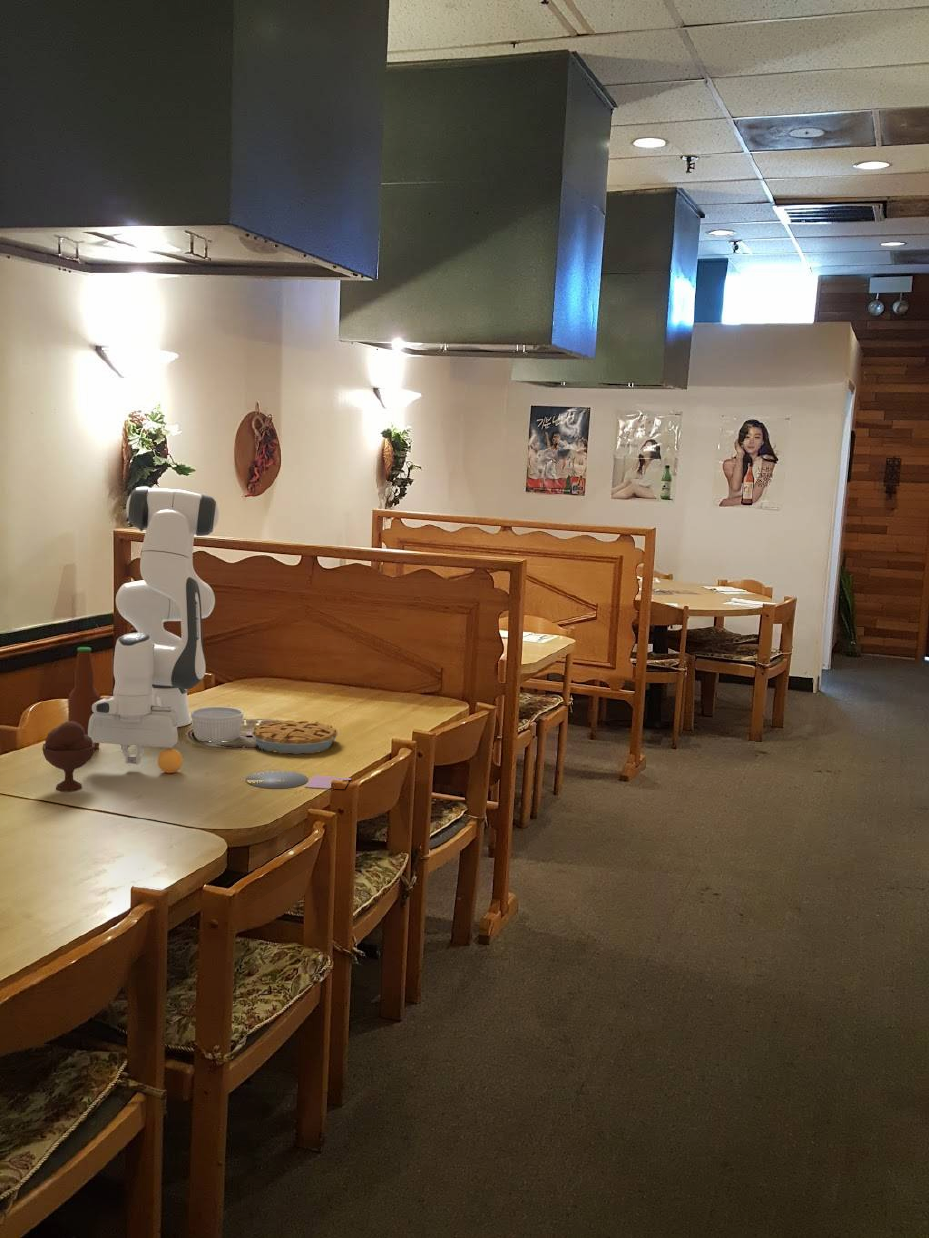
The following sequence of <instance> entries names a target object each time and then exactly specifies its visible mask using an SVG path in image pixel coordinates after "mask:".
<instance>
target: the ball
mask: <svg viewBox="0 0 929 1238" xmlns="http://www.w3.org/2000/svg"><path fill="white" fill-rule="evenodd" d="M183 761H184V760H183V756H182V753H181V752H180V751H179V750H177V749H176V748H175V749H174V748H167V749H164V750H162V751H161V752H160V753H159V755H158V757H157V765H158V768H159V769H160V770H161V771H162V772H164V773H167V774H172V773H176V772H178V771H179V770H180V769H181V767H182V765H183Z"/></svg>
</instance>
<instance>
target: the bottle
mask: <svg viewBox="0 0 929 1238" xmlns="http://www.w3.org/2000/svg"><path fill="white" fill-rule="evenodd" d="M76 651H77V655H76V657H77V660H76V661H77V662H76V666H75V672H74V687H73V689H71V691H70V693H69V696H68V700H67V701H68V704H67V705H68V706H67V708H68V709H67V713H68V715H67V716H68V718H67V719H68V721H74V722H77V723H79V724H80V725H81V726H82V727H83V728H84V734H86V735H88V726H89V719H90V717H91V715H92V714H93V713H94V712H93V711H92V705H93V704H94V703H96V702H97V701H99V700H101V697H100V694H99V691H98V690H97V689H96V688H95V686H94V678H95V677H94V669H93V665H92V664H93V663H92V660H91V658H92V654H91V652H92V648H91V647H88V646H79V647H77V649H76ZM100 744H101V743H95V747H94V750H96V749H98V748H99V747H100Z"/></svg>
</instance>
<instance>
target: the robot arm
mask: <svg viewBox="0 0 929 1238" xmlns="http://www.w3.org/2000/svg"><path fill="white" fill-rule="evenodd" d="M125 511H126V515H127V520H128V522H129V523H130V525H132V526H133V527H134V528H136V529H138V530H139V531H141V532H143V531H144V530H145V533H144V538H143V543H142V546H141V547H142V549H141V555H140V561H139V562H140V563H139V572H140V575H141V578H142V579H143V580H137V581H131V582H126V583H125V582H124V583H123V584H122V585H121V586H120V587H119V589H118V590H117V593H116V595H115V596H116V597H115V607H116V610H117V611H118V613H119V615H121V617H122V618H123V619H125V620H126V621H127V622H129V624H131V625H132V626H133V627H134V629H135V630H136V631H137V632H131V633H130V632H129V633H126V634H123V635H121V636H119V637H118V638H117V640H116V644H115V648H114V655H113V670H112V671H113V678H114V688H113V690H112V692H113V695H112V696H108V697H105V698H102V699H100V700H99V701H97V702H96V703H94V704H93V705H92V711H93V712H94V713H93V714H92V715H91V717H90V719H89V726H88V736H89V737H91V739H92V741H93V742H94V743H100V744H107V745H120V750H121V752H122V754H123V756H124V757H125V764H128V765H129V764H132V765H139V764H140V763H141V759H142V758H141V756H142V754H143V753H144V751H145V749H146V747H151V748H152V747H154V748H167V749H172V748H173V747H175V745H177V743H178V741H179V735H178V733H179V732H178V728H179V727H185V726H188V725H190V724H191V723H193V720H192V718H191V714H190V710H189V709H190V708H189V704H188V693H187V692H188V690H191V689H192V688H195V687H196V686H198V685H199V683H200V682H202V681H203V680H204V678H205V674H206V672H207V671H206V667H207V666H206V655H205V651H204V642H203V641H204V640H203V620H202V619H207V618H208V617H209V616H210V615H211V613H212V612H213V610H214V608H215V605H216V596H215V593H214V591H213V589H212V587H211V586H210V585H209V584H208V583H207V582H205V581H203V579H201V578H200V577H199V575H197V573H196V571H195V569H194V562H193V554H194V552H193V551H194V540H195V536H196V537H205V536H209V535H210V534H212V533H213V532H214V529H215V528H216V526H217V525H218V521H219V516H220V513H219V508H218V505H217V501H216V500H215V499H214V497H212V496H210V495H208V494H205V493H201V494H199V493H196V492H191V491H188V490H184V489H183V490H182V489H177V488H176V489H172V488H162V487H159V488H158V487H150V486H139V487H135V488H133V490H131V493H130V494H129V496H128V498H127V502H126V505H125ZM164 622H165V623H166V622H180V630H181V631H180V632H181V637H180V636H178V635H176V634H174V633H172V632H170V631H167V630H166V629H165V627H164ZM130 746H135V747H136V748H135V750H136V751H137V753H136V754H132V753H131V751H130V749H129V748H130Z"/></svg>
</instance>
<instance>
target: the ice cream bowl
mask: <svg viewBox="0 0 929 1238" xmlns="http://www.w3.org/2000/svg"><path fill="white" fill-rule="evenodd" d="M94 747H95V743H94V742H93V741H92V739H91V737H89V736H88V735H86V734H84V728H83V727H82V726H81V725H80V724H79V723H77V722H74V721H65V722H63V723H60V725H59V726H58V727H57V726H56V727H55V728H53V729H51V731H49V732H48V733H47V737H46V738H45V742H44V743H43V745H42V748H41V749H42V753H43V757H44V758H45V760H46V761H47V762H48V763H49V764H50V765H52V766H53V767H55V768H56V769H60V770H63V772H64V780H62V781H61V782H59V783H58V784H56V786H55V790H56V791H60V792H75V791H78V790H81V789H82V788H83V785H82V783H81V782H79V781H77V780H75V779H74V771H75V770H76V769H79V768H81V767H83V766H84V765H86V764H87V763H88V762H89V761H90V760H91V759H92V757H93V755H94V752H95V749H94Z"/></svg>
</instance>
